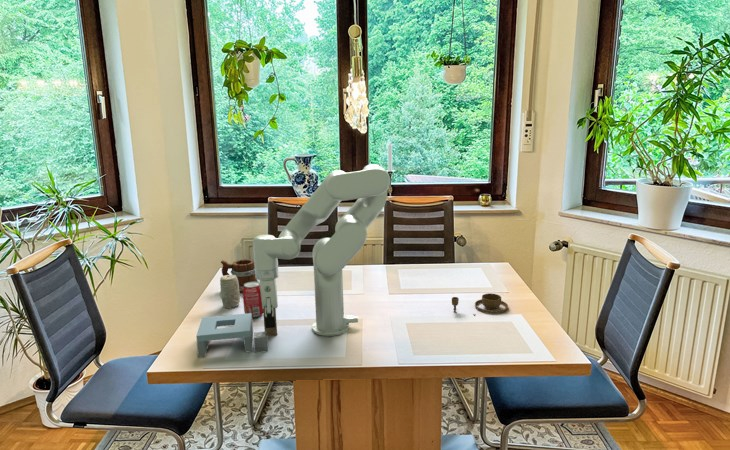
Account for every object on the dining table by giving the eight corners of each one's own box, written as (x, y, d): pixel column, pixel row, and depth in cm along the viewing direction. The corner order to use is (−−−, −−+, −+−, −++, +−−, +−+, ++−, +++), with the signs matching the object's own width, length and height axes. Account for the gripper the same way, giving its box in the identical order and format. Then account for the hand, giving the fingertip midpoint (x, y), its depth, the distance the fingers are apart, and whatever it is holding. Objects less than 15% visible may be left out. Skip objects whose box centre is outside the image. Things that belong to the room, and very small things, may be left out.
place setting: (507, 320, 179) (508, 304, 178) (450, 315, 184) (450, 299, 183) (507, 301, 196) (508, 287, 194) (455, 297, 201) (455, 283, 200)
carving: (218, 308, 194) (215, 278, 192) (231, 301, 201) (229, 272, 198) (230, 310, 191) (228, 280, 189) (244, 303, 198) (241, 274, 195)
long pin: (276, 330, 174) (274, 299, 172) (277, 335, 170) (275, 304, 168) (265, 331, 173) (262, 300, 171) (264, 336, 170) (262, 305, 167)
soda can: (255, 309, 192) (253, 279, 189) (268, 314, 188) (265, 283, 185) (240, 315, 187) (237, 284, 184) (252, 320, 182) (250, 288, 179)
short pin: (268, 345, 163) (267, 331, 162) (268, 351, 159) (266, 336, 158) (255, 347, 162) (254, 332, 161) (254, 352, 159) (253, 337, 157)
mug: (260, 292, 209) (251, 258, 205) (226, 300, 208) (216, 265, 205) (263, 282, 220) (254, 250, 217) (230, 290, 220) (221, 257, 216)
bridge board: (253, 332, 173) (251, 313, 171) (251, 351, 159) (250, 330, 158) (204, 337, 170) (202, 317, 168) (198, 356, 157) (196, 335, 155)
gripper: (278, 280, 159) (282, 334, 164) (278, 264, 176) (281, 313, 180) (254, 282, 158) (258, 336, 162) (255, 265, 174) (259, 315, 178)
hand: (270, 324), depth 171 cm, fingers closed on long pin, 4 cm apart
